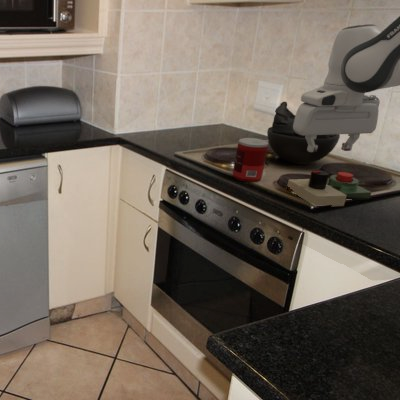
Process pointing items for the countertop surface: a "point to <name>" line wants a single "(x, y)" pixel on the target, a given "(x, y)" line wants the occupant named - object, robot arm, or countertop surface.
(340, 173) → the button
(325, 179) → the oven knob
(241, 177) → the canned food
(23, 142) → the countertop surface
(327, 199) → the panel
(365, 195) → the button housing
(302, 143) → the coal bowl
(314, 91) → the robot arm
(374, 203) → the countertop surface
